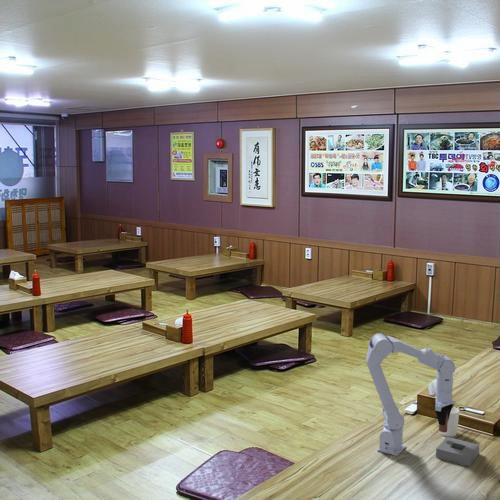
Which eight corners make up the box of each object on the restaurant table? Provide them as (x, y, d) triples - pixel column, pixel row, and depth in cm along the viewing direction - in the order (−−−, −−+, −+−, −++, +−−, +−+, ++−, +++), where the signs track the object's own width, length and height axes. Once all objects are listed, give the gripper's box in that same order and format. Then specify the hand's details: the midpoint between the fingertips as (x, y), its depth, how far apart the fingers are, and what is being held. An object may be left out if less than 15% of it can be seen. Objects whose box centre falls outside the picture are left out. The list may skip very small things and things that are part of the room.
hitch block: (469, 466, 215) (469, 457, 214) (436, 457, 222) (436, 448, 221) (478, 453, 224) (479, 444, 224) (446, 445, 231) (446, 436, 231)
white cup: (461, 432, 242) (462, 409, 241) (453, 439, 236) (453, 415, 235) (443, 427, 248) (443, 404, 246) (434, 433, 242) (434, 409, 240)
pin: (445, 432, 226) (446, 412, 225) (437, 430, 228) (438, 410, 227) (448, 430, 229) (448, 409, 228) (440, 428, 231) (441, 408, 230)
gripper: (449, 396, 218) (448, 432, 220) (460, 384, 230) (459, 418, 232) (429, 392, 222) (428, 428, 224) (442, 381, 234) (441, 414, 236)
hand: (443, 423), depth 228 cm, fingers closed on pin, 3 cm apart
